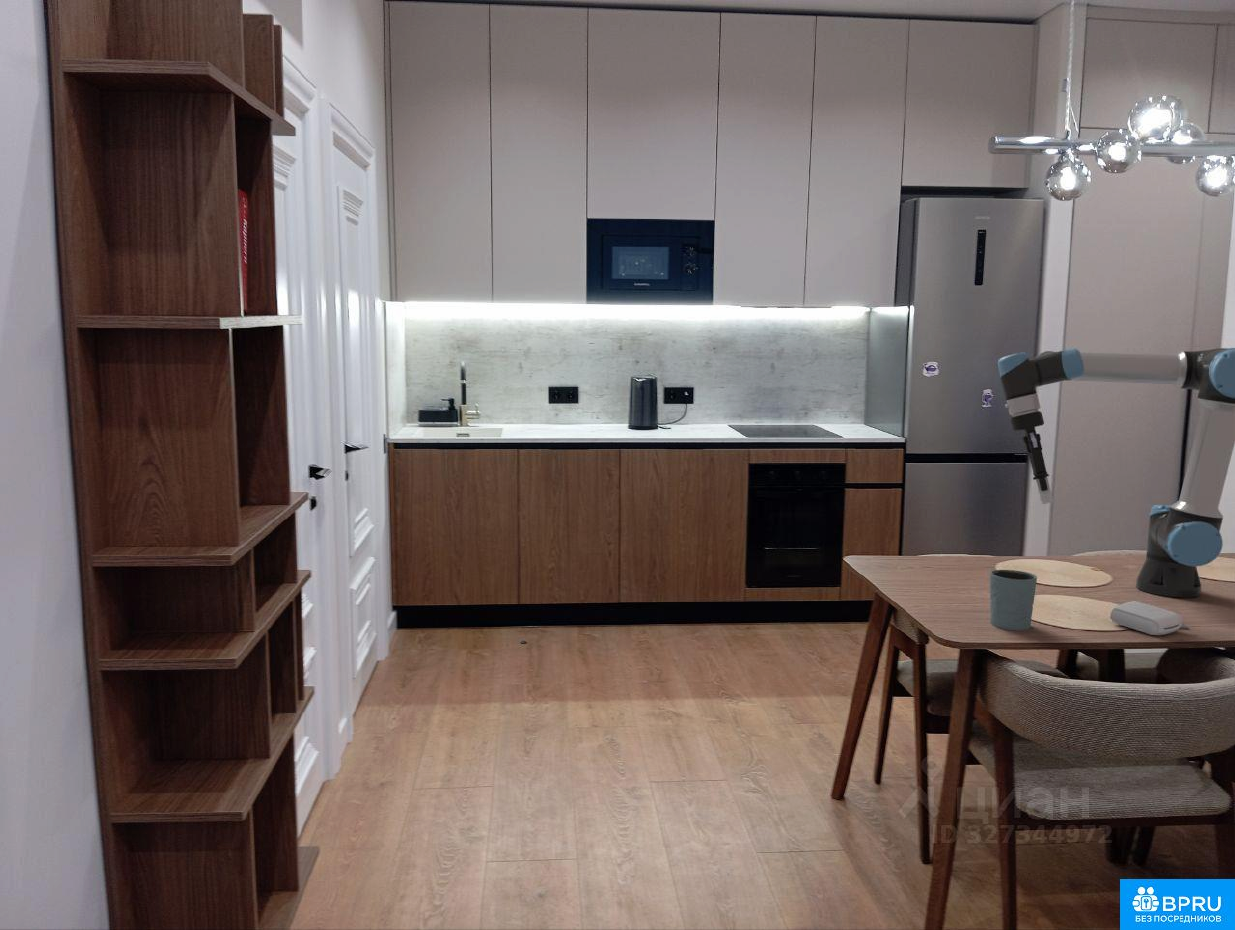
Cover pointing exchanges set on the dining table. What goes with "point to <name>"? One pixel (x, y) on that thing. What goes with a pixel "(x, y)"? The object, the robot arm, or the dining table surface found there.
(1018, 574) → the teal cup
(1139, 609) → the photo printer
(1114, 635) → the dining table surface
